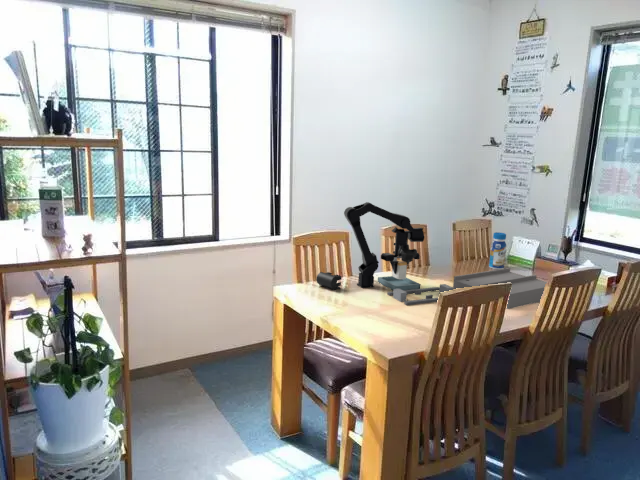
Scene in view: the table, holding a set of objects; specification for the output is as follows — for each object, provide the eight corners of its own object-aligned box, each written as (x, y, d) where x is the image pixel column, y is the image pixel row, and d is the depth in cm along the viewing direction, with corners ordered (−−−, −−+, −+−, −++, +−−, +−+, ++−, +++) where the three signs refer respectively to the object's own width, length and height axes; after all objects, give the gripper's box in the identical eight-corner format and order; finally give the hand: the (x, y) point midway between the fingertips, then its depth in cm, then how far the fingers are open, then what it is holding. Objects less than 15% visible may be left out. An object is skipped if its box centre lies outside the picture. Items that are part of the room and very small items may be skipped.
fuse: (398, 279, 238) (399, 263, 237) (392, 276, 243) (393, 260, 242) (405, 278, 240) (407, 262, 238) (399, 275, 245) (400, 259, 243)
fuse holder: (406, 305, 213) (407, 296, 212) (387, 294, 227) (387, 286, 226) (459, 299, 224) (460, 290, 223) (437, 289, 238) (438, 281, 238)
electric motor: (315, 286, 236) (316, 272, 235) (326, 284, 241) (327, 270, 240) (330, 291, 229) (331, 277, 228) (341, 288, 234) (342, 274, 233)
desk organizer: (563, 297, 234) (565, 283, 233) (508, 309, 213) (509, 294, 212) (507, 280, 260) (508, 267, 259) (452, 290, 239) (453, 276, 238)
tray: (395, 291, 232) (396, 286, 232) (377, 282, 247) (377, 277, 247) (420, 289, 238) (420, 284, 237) (401, 280, 252) (401, 275, 252)
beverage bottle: (493, 265, 292) (497, 231, 288) (507, 268, 285) (510, 233, 281) (485, 267, 286) (489, 232, 282) (498, 270, 280) (502, 235, 276)
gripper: (393, 246, 227) (391, 279, 230) (427, 244, 235) (425, 276, 238) (381, 241, 237) (379, 273, 240) (414, 239, 245) (411, 270, 248)
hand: (399, 273), depth 241 cm, fingers closed on fuse, 4 cm apart
